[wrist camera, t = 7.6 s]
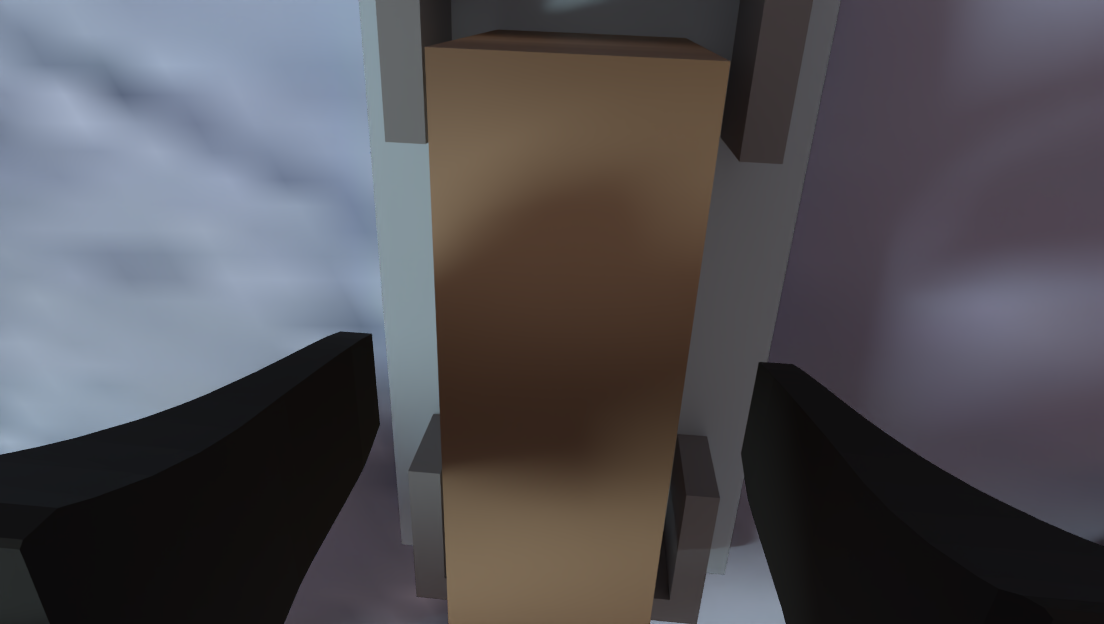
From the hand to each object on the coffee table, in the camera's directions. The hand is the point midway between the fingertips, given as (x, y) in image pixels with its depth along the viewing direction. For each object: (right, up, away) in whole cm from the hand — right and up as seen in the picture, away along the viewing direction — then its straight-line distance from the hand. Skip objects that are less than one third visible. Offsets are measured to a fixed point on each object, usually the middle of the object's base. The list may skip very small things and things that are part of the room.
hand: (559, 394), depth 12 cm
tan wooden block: (0, +2, +4) cm, 5 cm away
